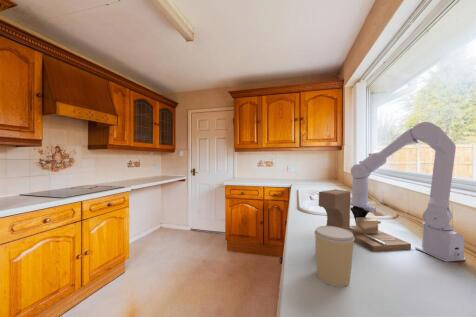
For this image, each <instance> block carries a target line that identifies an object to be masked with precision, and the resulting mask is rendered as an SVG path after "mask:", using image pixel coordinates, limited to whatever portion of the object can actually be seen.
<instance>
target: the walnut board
mask: <svg viewBox="0 0 476 317" xmlns="http://www.w3.org/2000/svg"><path fill="white" fill-rule="evenodd" d="M350 227H352V228H354V229H356V224H355V225H350ZM350 232H351V233H352V234H353V236H354V238H355V240H354V242H355V243H357V244H359V245H360V246H362V247H365V248H367V249H368V250H370V251H372V252H386V251H399V250H401V251H402V250H411V249H412V243H410V242H408V241H404V240H403V239H401V238H398V237H396V236H394V235H391V234H389V233H386V232H383V231H381V230H379V229H378V233H370V234H367V235H369V236H371V237H374V238H376V239H378V240H380V241H382V242H384V243H386V245H382V244H380V243H378V242H376V241H374V240H372V239H370V238H368V237H365V236H363V235H361V234H359V233H357V232H355V231H353V230H351V229H350Z"/></svg>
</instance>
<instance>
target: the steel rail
mask: <svg viewBox="0 0 476 317" xmlns="http://www.w3.org/2000/svg"><path fill="white" fill-rule="evenodd" d="M350 229H351V230H353V231H355V232H357V233H359V234H361V235H363V236H365V237H368V238H370V239H372V240H374V241H376V242H378V243H380V244H382V245H386V243H384V242H382V241H380V240H378V239H376V238H374V237H371V236H369V235H367V234H365V233H363V232H361V231H359V230H356V229H354V228H352V227H350Z"/></svg>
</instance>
